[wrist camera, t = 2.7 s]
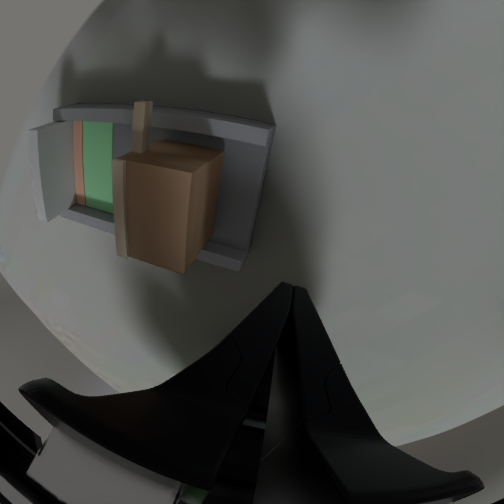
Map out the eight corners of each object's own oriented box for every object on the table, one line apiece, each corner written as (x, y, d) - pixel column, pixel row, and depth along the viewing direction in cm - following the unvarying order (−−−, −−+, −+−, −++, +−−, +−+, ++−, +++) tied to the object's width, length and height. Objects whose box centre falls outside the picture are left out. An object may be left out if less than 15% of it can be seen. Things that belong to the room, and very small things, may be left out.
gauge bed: (275, 124, 13) (259, 136, 10) (248, 252, 18) (228, 297, 14) (75, 103, 14) (28, 116, 11) (78, 203, 19) (40, 230, 15)
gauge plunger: (232, 106, 12) (197, 112, 8) (213, 233, 16) (182, 277, 12) (165, 97, 12) (114, 105, 9) (157, 217, 16) (117, 255, 13)
